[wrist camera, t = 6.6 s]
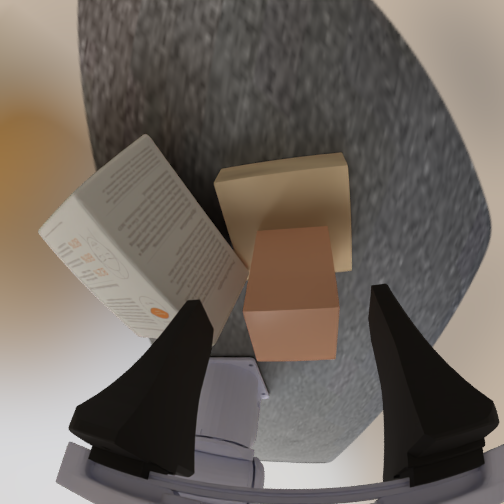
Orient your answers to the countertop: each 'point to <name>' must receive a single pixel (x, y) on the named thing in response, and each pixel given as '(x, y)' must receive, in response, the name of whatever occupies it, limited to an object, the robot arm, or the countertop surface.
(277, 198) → the base slab
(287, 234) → the block
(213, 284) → the small box
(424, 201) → the countertop surface
